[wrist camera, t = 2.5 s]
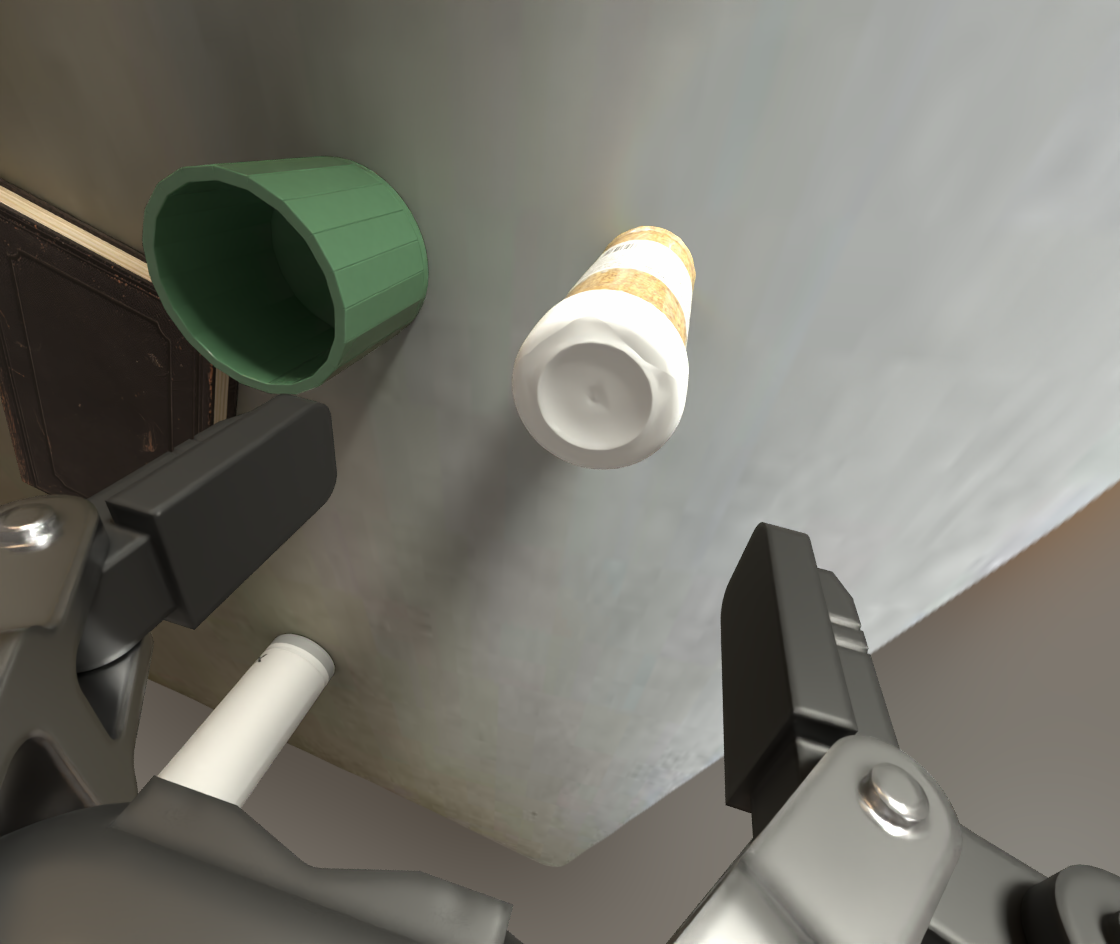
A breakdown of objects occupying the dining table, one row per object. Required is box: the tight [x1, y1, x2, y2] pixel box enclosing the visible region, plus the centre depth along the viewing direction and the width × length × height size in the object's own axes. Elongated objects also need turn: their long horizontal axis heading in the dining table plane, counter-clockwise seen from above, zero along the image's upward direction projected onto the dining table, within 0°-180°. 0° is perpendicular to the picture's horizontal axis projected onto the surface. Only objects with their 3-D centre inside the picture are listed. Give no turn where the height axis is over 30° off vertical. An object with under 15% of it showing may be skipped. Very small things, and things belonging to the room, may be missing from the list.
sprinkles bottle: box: [512, 226, 696, 469], centre depth 19 cm, size 5×5×14 cm
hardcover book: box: [0, 178, 238, 499], centre depth 36 cm, size 16×23×2 cm
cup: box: [142, 156, 429, 395], centre depth 24 cm, size 9×9×8 cm
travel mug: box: [157, 634, 335, 808], centre depth 41 cm, size 6×7×20 cm
